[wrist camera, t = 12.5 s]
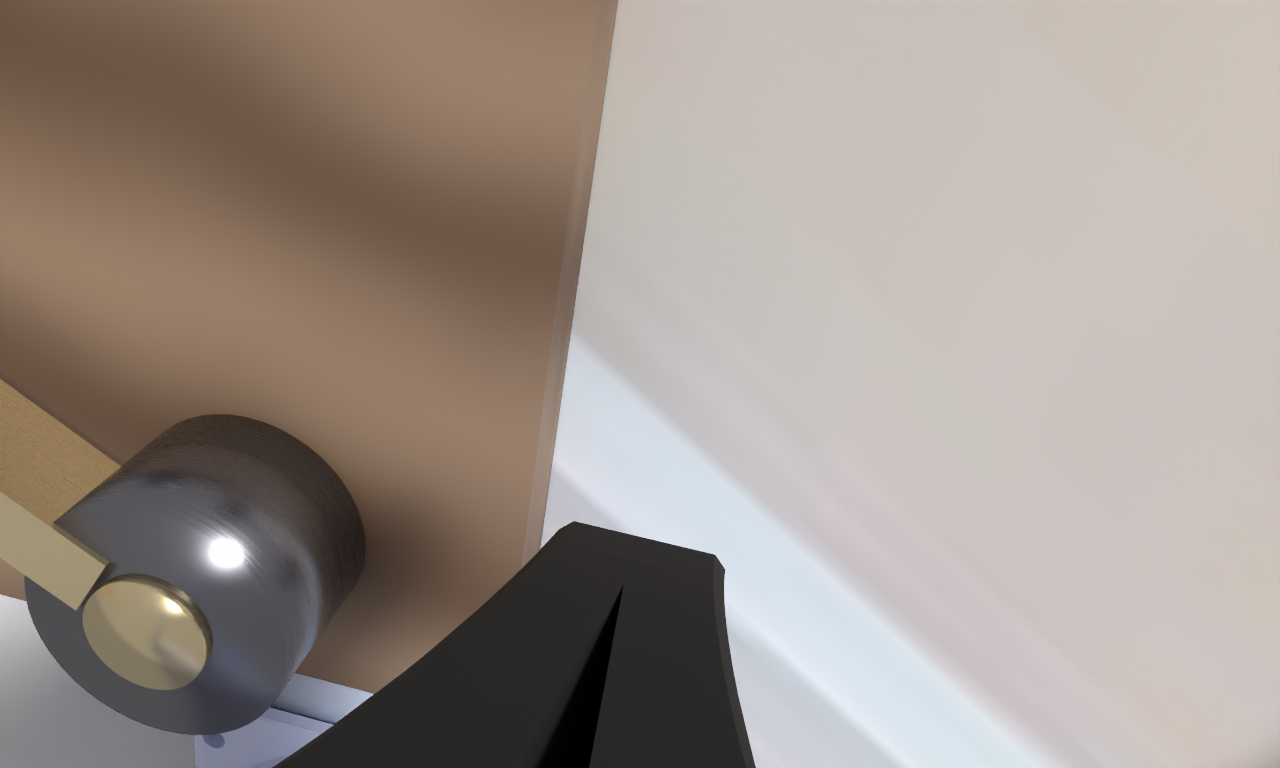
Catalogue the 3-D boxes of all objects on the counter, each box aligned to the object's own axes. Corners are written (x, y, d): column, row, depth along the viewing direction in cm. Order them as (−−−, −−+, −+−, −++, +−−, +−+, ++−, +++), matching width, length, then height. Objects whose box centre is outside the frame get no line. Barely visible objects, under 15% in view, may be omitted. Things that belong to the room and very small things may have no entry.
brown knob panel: (521, 675, 22) (458, 822, 19) (-221, 481, 24) (-402, 585, 21) (715, -682, 13) (657, -878, 9) (-548, -851, 14) (-989, -1069, 11)
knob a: (410, 522, 19) (326, 643, 16) (294, 660, 21) (200, 790, 18) (-135, 115, 18) (-336, 167, 15) (-205, 305, 20) (-394, 384, 17)
